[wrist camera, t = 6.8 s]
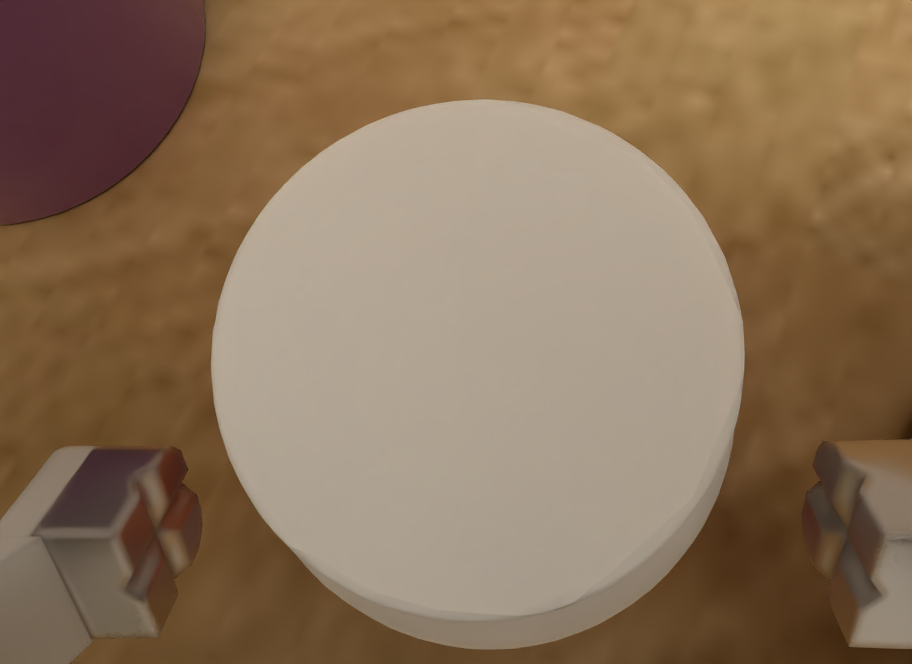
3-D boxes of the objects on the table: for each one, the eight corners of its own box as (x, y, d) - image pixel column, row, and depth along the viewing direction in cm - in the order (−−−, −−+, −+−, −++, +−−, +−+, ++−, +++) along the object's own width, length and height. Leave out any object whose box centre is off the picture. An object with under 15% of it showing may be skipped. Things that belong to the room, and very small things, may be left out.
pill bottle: (313, 430, 18) (-14, 311, 7) (507, 258, 18) (487, -100, 7) (491, 644, 16) (432, 917, 5) (696, 451, 17) (1007, 351, 6)
